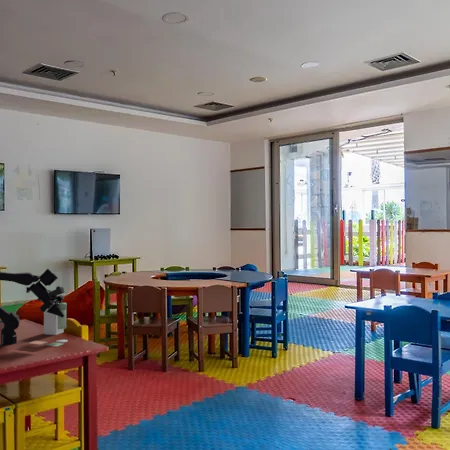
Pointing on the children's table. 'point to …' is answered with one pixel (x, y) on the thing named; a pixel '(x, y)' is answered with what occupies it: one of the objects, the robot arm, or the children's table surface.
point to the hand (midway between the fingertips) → (64, 315)
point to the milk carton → (51, 324)
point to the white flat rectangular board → (50, 343)
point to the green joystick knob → (62, 319)
